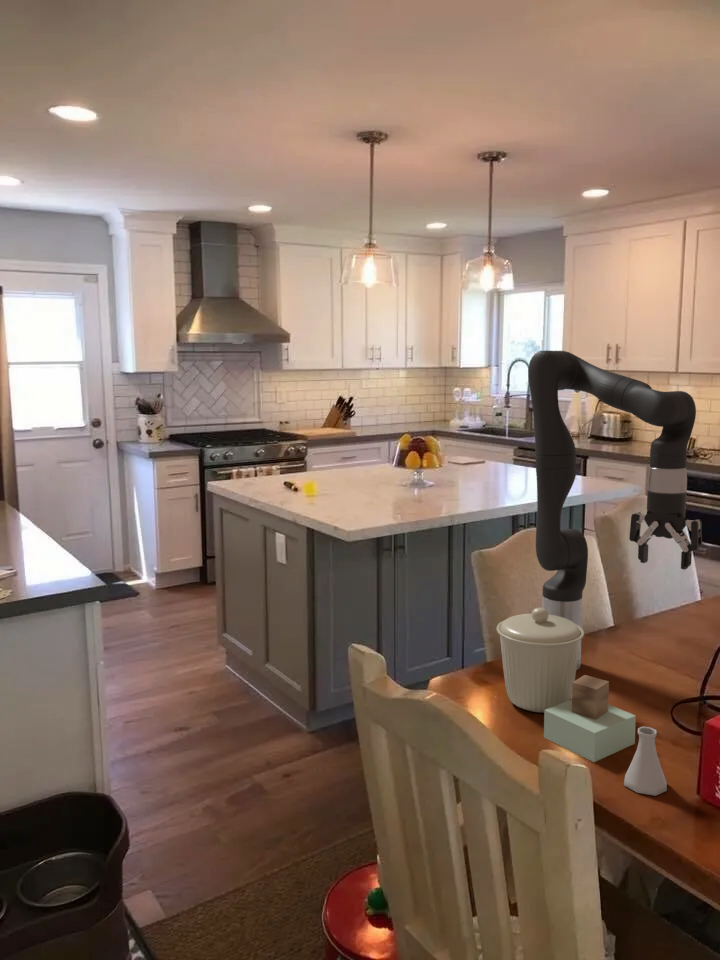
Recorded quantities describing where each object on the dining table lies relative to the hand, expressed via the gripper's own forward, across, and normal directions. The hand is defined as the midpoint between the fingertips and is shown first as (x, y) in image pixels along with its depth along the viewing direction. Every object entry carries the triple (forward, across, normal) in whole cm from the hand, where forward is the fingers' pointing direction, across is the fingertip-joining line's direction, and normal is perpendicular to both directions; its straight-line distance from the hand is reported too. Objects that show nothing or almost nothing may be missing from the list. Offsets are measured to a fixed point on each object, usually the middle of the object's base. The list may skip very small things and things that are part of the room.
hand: (663, 565), depth 163 cm
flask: (+30, -12, +34) cm, 47 cm away
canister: (+30, +19, +17) cm, 40 cm away
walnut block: (+24, +3, +25) cm, 35 cm away
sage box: (+30, +3, +26) cm, 40 cm away
